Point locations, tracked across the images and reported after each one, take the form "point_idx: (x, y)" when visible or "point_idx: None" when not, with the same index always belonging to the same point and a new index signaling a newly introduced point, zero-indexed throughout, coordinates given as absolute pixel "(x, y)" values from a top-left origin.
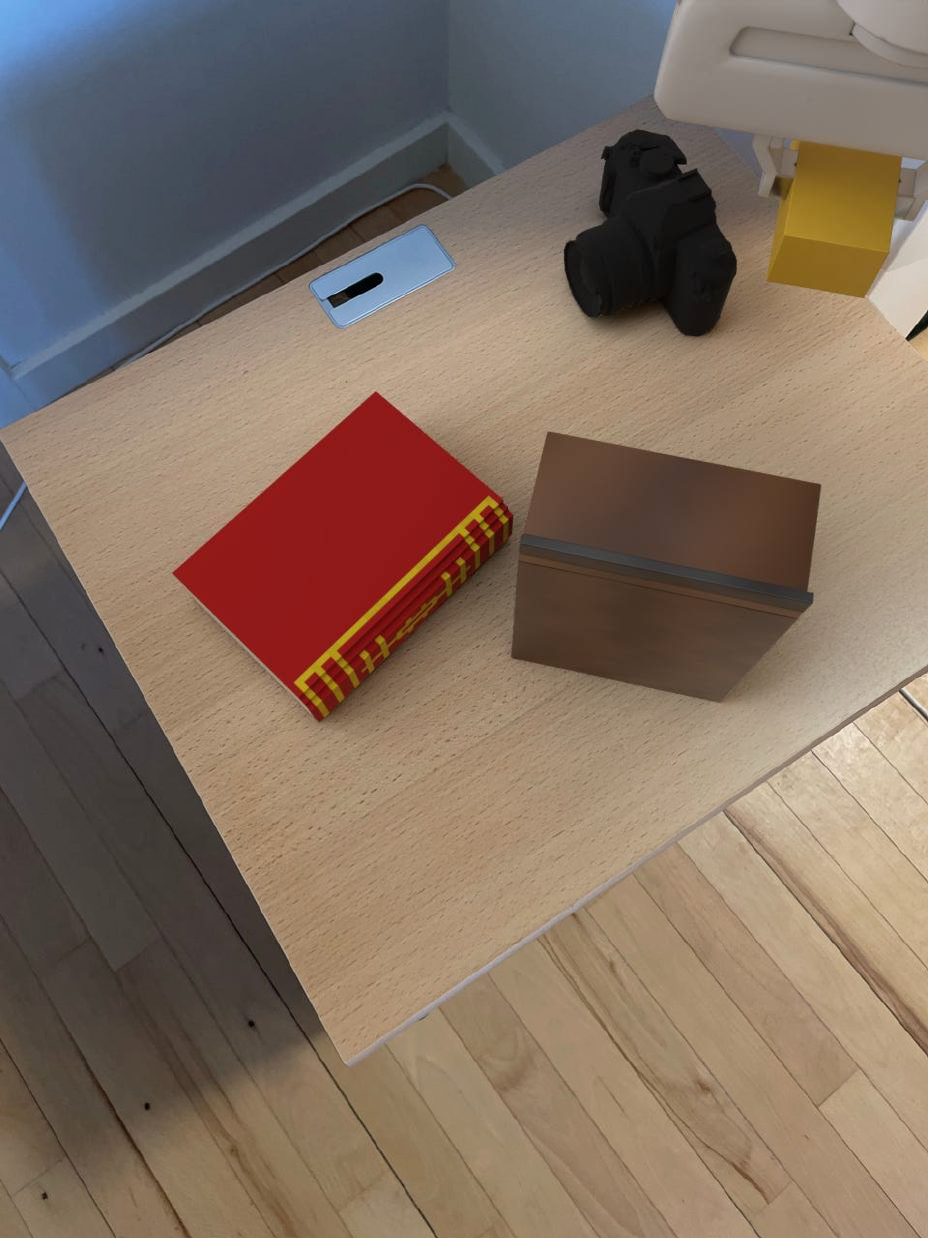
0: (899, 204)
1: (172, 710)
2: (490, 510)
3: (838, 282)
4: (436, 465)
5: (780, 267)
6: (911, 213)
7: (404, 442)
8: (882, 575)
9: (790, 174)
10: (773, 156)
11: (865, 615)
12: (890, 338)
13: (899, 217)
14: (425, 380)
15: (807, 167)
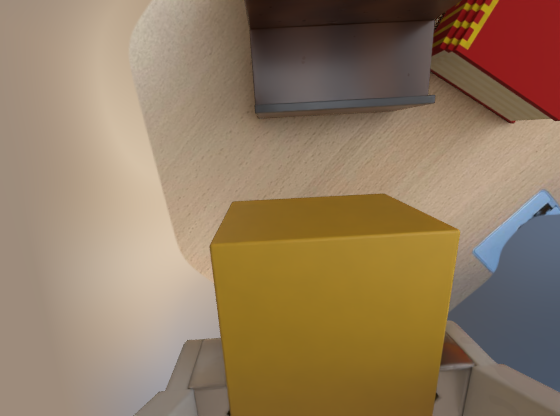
0: (216, 365)
1: None
2: (465, 36)
3: (281, 205)
4: (510, 66)
5: (387, 202)
6: (191, 353)
7: (536, 80)
8: (164, 105)
9: (447, 373)
10: (536, 410)
11: (167, 71)
12: (202, 273)
13: (211, 341)
14: (484, 167)
15: (414, 395)
